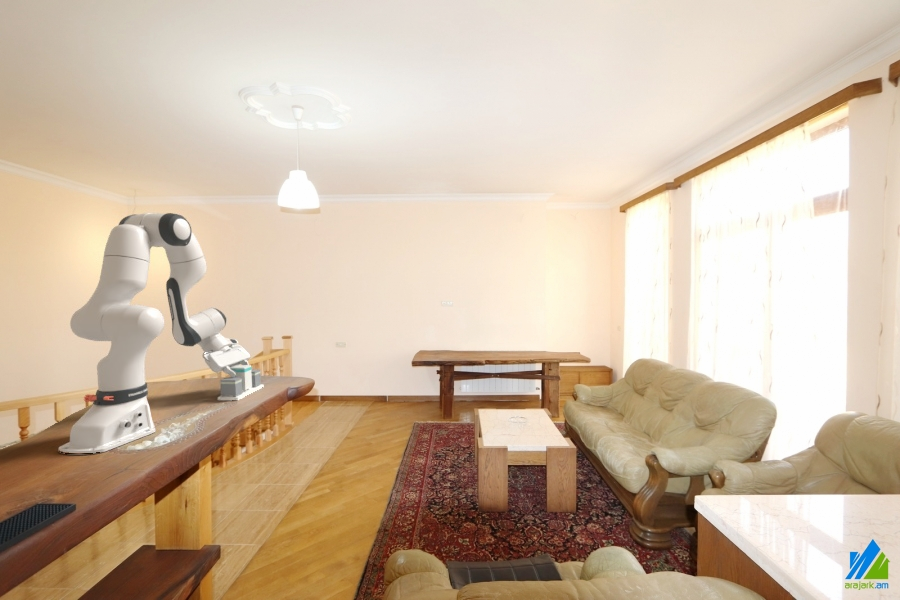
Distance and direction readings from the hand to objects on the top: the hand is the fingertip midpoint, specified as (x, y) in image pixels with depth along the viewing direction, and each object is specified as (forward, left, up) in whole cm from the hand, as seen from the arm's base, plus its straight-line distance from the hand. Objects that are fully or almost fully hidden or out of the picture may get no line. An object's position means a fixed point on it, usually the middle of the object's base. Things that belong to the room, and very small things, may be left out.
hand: (242, 372), depth 160 cm
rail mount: (0, +1, -8) cm, 8 cm away
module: (0, +1, -6) cm, 6 cm away
